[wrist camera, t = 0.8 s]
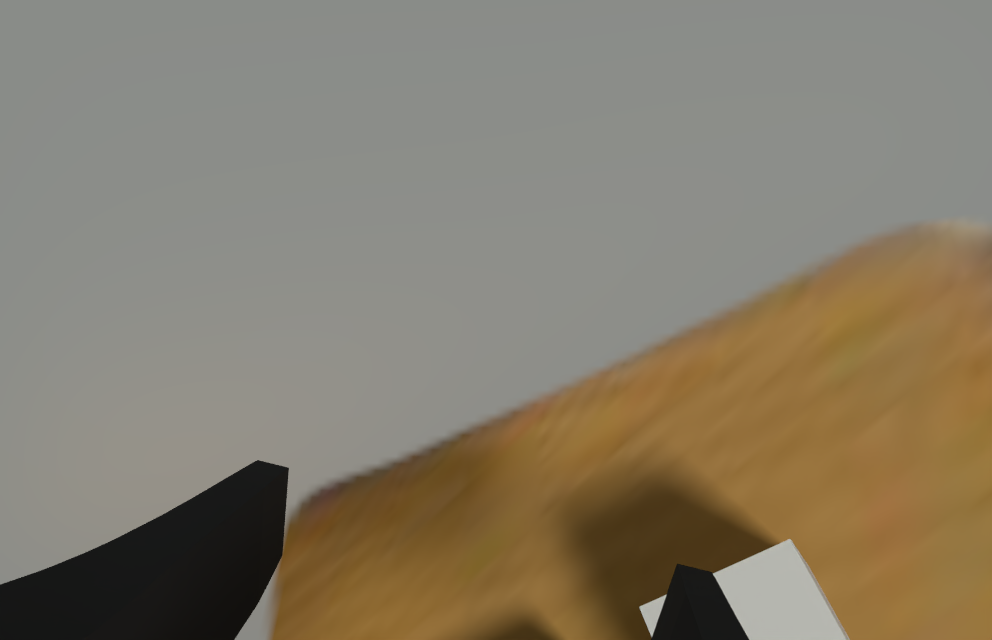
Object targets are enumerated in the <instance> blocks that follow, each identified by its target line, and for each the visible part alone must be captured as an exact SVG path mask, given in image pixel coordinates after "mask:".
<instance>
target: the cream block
mask: <svg viewBox="0 0 992 640" xmlns="http://www.w3.org/2000/svg"><path fill="white" fill-rule="evenodd" d="M713 575H714V577H715V578H716V580H717V582H718V584H719V585H720V587H721V589H722V591H723V593H724V595H725V597H726V598H727V600H728V602H729V604H730V606H731V608H732V609H733V611H734V613H735V615H736V617H737V619H738V620H739V622H740V624H741V626H742V628H743V629H744V631H745V633H746V635H747V636H748V638H749V640H850V639H849V637H848V635H847V633H846V632H845V630H844V628H843V626H842V625H841V623H840V621H839V619H838V617H837V616H836V614H835V612H834V610H833V608H832V607H831V605H830V603H829V601H828V600H827V598H826V596H825V594H824V592H823V591H822V589H821V587H820V585H819V583H818V582H817V580H816V578H815V576H814V574H813V573H812V571H811V569H810V567H809V566H808V564H807V563H806V561H805V560H804V558H803V557H802V555H801V554H800V553H799V551H798V550H797V548H796V547H795V545H794V544H793V542H792V541H791V539H789V540H787V541H784V542H782V543H780V544H778V545H775V546H773V547H771V548H769V549H767V550H764V551H762V552H760V553H758V554H755V555H753V556H751V557H749V558H747V559H744V560H742V561H740V562H738V563H735V564H733V565H731V566H729V567H727V568H724V569H722V570H720V571H718V572H715V573H713ZM665 598H666V595H664V596H662V597H660V598H658V599H655V600H653V601H651V602H649V603H647V604H644V605H642V606H640V607H639V608H640V610H641V613H642V615H643V618H644V620H645V622H646V625H647V627H648V630H649V632H650V634H651V637H652V636H653V633H654V630H655V627H656V624H657V621H658V618H659V615H660V613H661V610H662V607H663V604H664V601H665Z"/></svg>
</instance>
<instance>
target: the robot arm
mask: <svg viewBox="0 0 992 640" xmlns="http://www.w3.org/2000/svg"><path fill="white" fill-rule="evenodd" d="M288 470H289V468H287V467H283V466H279V465H275V464H270V463H266V462H263V461H259V460H257V461H255V462H254V463H252V464H250V465H248V466H246V467H245V468H243V469H241V470H240V471H238V472H236V473H234V474H233V475H231V476H229V477H228V478H226V479H224V480H223V481H221V482H219V483H217V484H216V485H214V486H212V487H211V488H209V489H207V490H206V491H204V492H202V493H200V494H199V495H197V496H195V497H193V498H192V499H190V500H188V501H187V502H185V503H183V504H181V505H179V506H177V507H176V508H174V509H172V510H170V511H169V512H167V513H165V514H163V515H162V516H160V517H158V518H156V519H154V520H152V521H150V522H148V523H146V524H144V525H142V526H140V527H138V528H136V529H134V530H132V531H130V532H128V533H127V534H124V535H122V536H120V537H118V538H116V539H114V540H112V541H110V542H108V543H106V544H104V545H101V546H99V547H97V548H95V549H93V550H91V551H88V552H86V553H84V554H81V555H79V556H77V557H74V558H71V559H69V560H67V561H64V562H62V563H59V564H57V565H54V566H52V567H49V568H47V569H44V570H41V571H39V572H36V573H33V574H30V575H27V576H24V577H21V578H18V579H16V580H13V581H10V582H7V583H4V584H1V585H0V640H234V639H235V637H236V636H237V635H238V633H239V631H240V630H241V628H242V627H243V625H244V624H245V622H246V621H247V619H248V618H249V616H250V615H251V613H252V612H253V610H254V609H255V607H256V605H257V604H258V602H259V600H260V598H261V597H262V595H263V593H264V590H265V589H266V587H267V585H268V583H269V581H270V579H271V577H272V575H273V573H274V571H275V569H276V567H277V565H278V563H279V561H280V559H281V557H282V552H283V538H284V525H285V511H286V498H287V484H288ZM651 640H749V638H748V636H747V635H746V633H745V631H744V629H743V628H742V626H741V624H740V622H739V620H738V619H737V617H736V615H735V613H734V611H733V609H732V608H731V606H730V604H729V602H728V600H727V598H726V597H725V595H724V593H723V591H722V589H721V587H720V585H719V584H718V582H717V580H716V578H715V577H714V575H713V573H712V572H709V571H705V570H700V569H696V568H692V567H688V566H684V565H680V564H677V566H676V569H675V572H674V575H673V578H672V581H671V583H670V586H669V589H668V592H667V595H666V598H665V601H664V604H663V607H662V610H661V613H660V615H659V618H658V621H657V624H656V627H655V630H654V633H653V636H652V639H651Z"/></svg>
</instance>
